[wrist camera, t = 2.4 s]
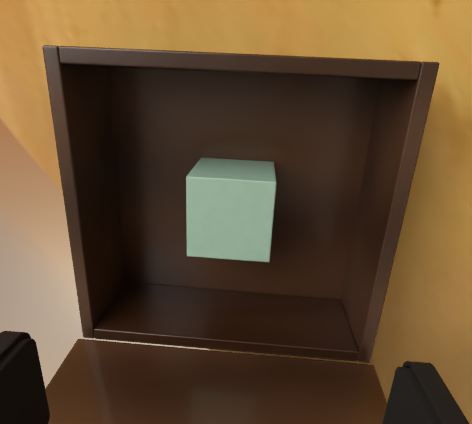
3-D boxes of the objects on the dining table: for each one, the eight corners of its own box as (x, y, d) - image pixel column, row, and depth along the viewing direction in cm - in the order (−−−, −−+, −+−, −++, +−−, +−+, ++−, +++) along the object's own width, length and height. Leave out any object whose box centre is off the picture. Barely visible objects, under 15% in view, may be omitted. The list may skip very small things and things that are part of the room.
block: (200, 157, 21) (185, 176, 17) (274, 161, 21) (276, 181, 17) (200, 224, 23) (186, 256, 19) (268, 229, 22) (269, 262, 18)
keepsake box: (99, 53, 20) (41, 44, 15) (391, 66, 19) (440, 62, 14) (120, 284, 26) (82, 337, 20) (347, 302, 25) (370, 363, 19)
